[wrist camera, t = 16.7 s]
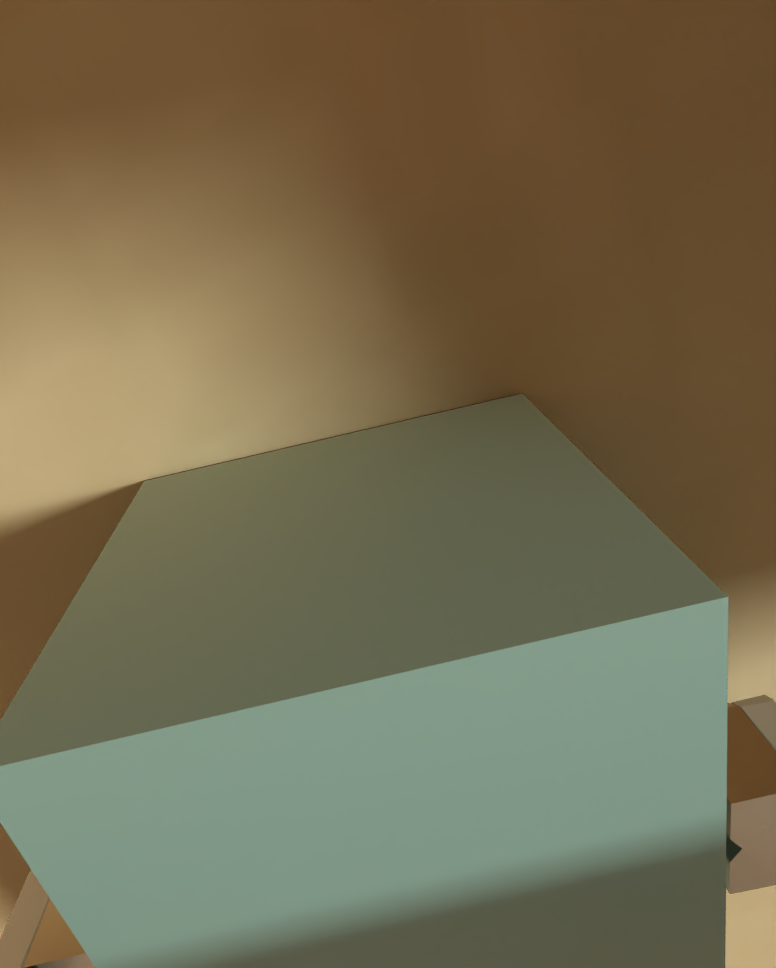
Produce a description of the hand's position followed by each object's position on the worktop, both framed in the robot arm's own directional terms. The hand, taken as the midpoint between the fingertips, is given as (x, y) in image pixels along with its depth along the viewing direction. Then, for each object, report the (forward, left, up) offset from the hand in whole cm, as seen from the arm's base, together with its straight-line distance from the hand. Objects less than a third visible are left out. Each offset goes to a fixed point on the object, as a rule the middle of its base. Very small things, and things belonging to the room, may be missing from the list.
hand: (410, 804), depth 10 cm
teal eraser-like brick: (0, 0, -4) cm, 4 cm away
